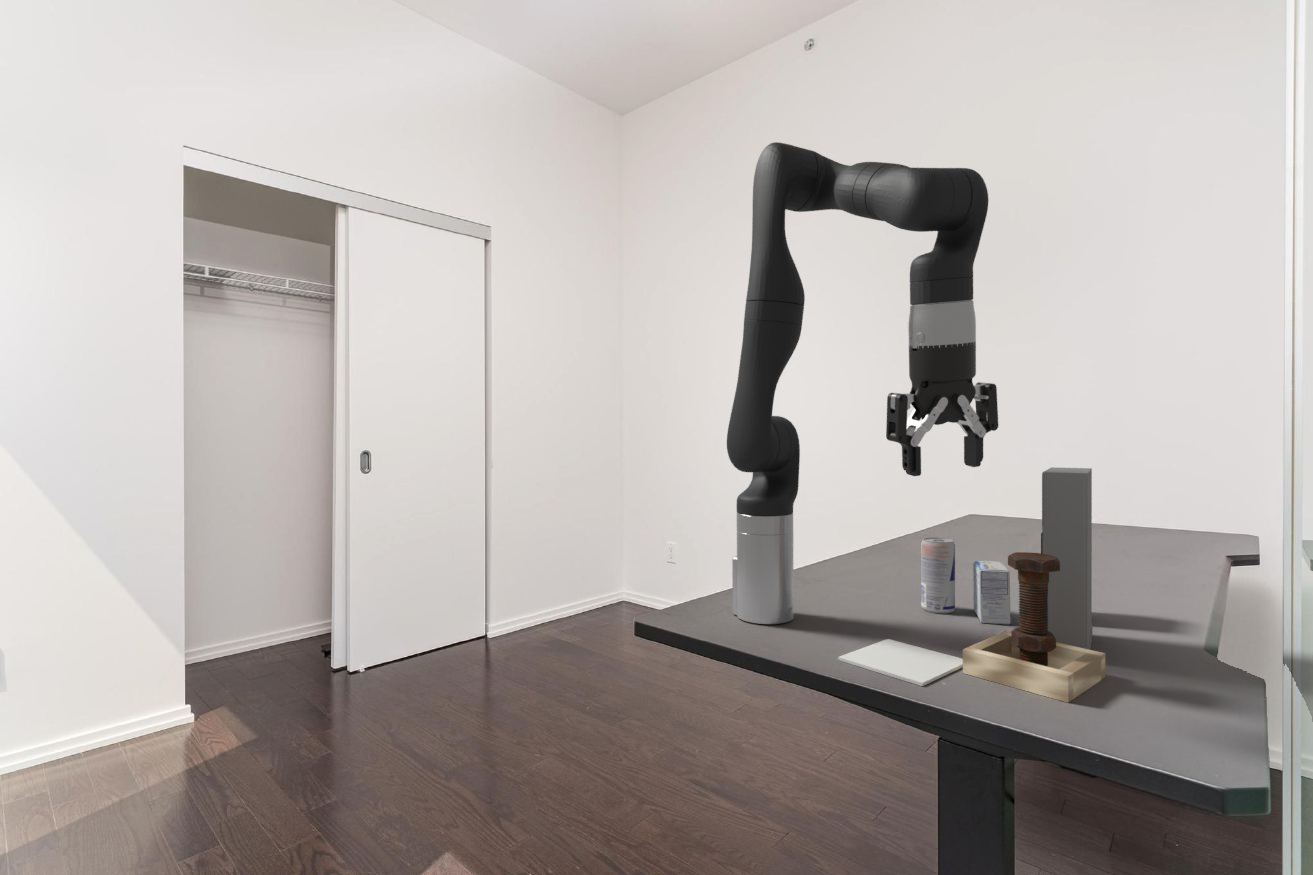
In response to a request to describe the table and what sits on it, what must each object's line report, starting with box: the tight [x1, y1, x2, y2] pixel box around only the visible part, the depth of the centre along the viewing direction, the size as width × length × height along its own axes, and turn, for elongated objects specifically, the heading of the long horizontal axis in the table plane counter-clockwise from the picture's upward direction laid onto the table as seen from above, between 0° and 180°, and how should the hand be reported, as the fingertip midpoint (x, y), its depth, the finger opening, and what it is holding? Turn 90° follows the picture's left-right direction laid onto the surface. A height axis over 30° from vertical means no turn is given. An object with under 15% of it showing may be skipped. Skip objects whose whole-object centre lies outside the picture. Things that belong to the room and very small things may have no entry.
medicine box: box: [972, 560, 1011, 626], centre depth 109 cm, size 8×4×9 cm, turn 162°
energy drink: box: [920, 537, 956, 615], centre depth 114 cm, size 5×5×12 cm
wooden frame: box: [962, 630, 1106, 704], centre depth 83 cm, size 12×12×3 cm
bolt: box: [1007, 551, 1060, 667], centre depth 83 cm, size 6×5×15 cm
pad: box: [837, 638, 963, 687], centre depth 88 cm, size 12×12×1 cm
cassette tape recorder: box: [1040, 467, 1094, 650], centre depth 95 cm, size 14×6×25 cm, turn 145°
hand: (943, 470), depth 83 cm, fingers open, 8 cm apart
